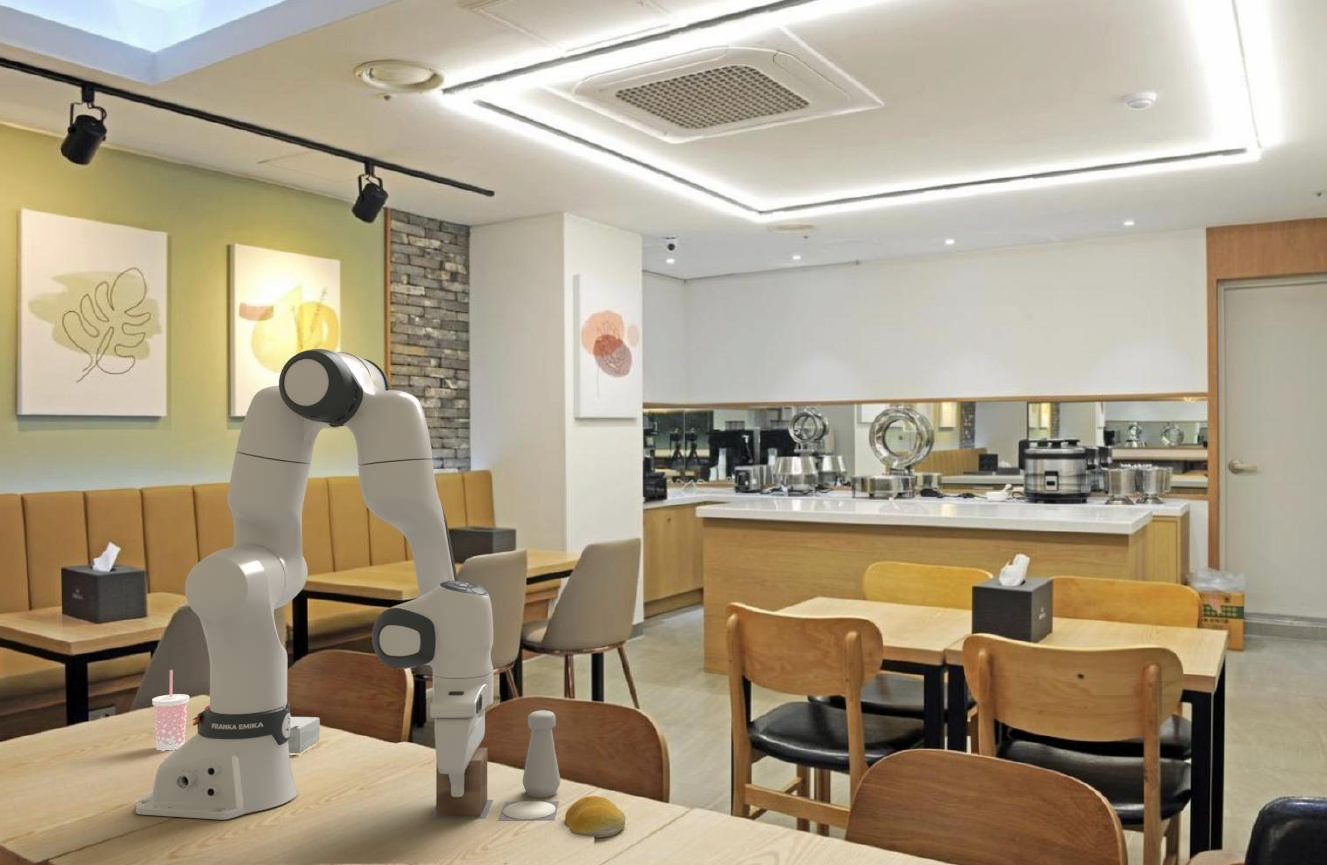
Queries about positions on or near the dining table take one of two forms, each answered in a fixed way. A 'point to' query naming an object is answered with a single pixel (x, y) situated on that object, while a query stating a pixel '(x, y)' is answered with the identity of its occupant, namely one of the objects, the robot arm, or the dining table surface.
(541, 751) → the salt shaker
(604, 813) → the bread roll
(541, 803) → the board
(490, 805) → the board
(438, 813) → the brown wooden block
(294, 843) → the dining table surface
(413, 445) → the robot arm
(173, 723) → the beverage cup
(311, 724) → the small box
